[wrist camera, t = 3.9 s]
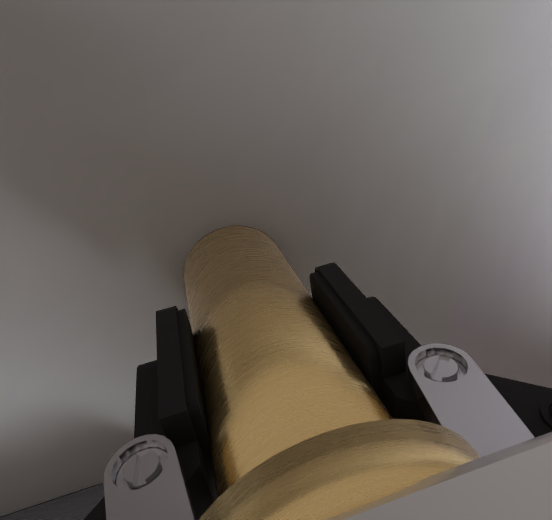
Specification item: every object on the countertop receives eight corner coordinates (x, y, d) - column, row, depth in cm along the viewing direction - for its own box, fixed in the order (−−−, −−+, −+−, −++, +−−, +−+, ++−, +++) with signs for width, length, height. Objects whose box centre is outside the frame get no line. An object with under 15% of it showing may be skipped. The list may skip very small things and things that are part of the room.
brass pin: (292, 187, 15) (569, 439, 5) (311, 312, 17) (521, 643, 7) (140, 224, 14) (118, 612, 4) (181, 350, 16) (229, 778, 7)
